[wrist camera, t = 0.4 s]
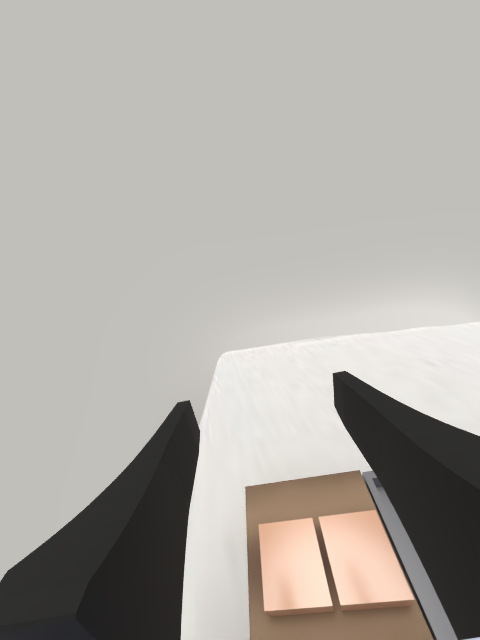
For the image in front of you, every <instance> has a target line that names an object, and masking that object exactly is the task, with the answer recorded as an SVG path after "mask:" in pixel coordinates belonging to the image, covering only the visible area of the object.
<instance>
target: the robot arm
mask: <svg viewBox="0 0 480 640" xmlns="http://www.w3.org/2000/svg"><path fill="white" fill-rule="evenodd" d="M333 386H334V405H335V408H336V410H337V412H338V414H339V416H340V418H341V420H342V422H343V424H344V426H345V428H346V429H347V431H348V433H349V434H350V436H351V437H352V439H353V440H354V442H355V444H356V445H357V447H358V448H359V450H360V451H361V453H362V454H363V456H364V457H365V459H366V461H367V462H368V464H369V465H370V467H371V468H372V470H373V471H374V473H375V475H376V476H377V478H378V480H379V481H380V483H381V485H382V487H383V489H384V490H385V492H386V494H387V496H388V498H389V500H390V502H391V504H392V505H393V507H394V509H395V511H396V513H397V515H398V517H399V519H400V521H401V523H402V525H403V527H404V529H405V531H406V532H407V534H408V536H409V538H410V540H411V542H412V544H413V546H414V548H415V550H416V553H417V555H418V557H419V559H420V561H421V563H422V565H423V567H424V569H425V571H426V573H427V575H428V577H429V579H430V581H431V583H432V585H433V588H434V590H435V592H436V594H437V596H438V598H439V600H440V602H441V605H442V607H443V609H444V611H445V613H446V615H447V617H448V619H449V622H450V624H451V626H452V628H453V630H454V633H455V635H456V637H457V639H458V640H480V436H478V435H475V434H472V433H470V432H467V431H464V430H462V429H459V428H456V427H454V426H451V425H449V424H446V423H444V422H441V421H439V420H437V419H435V418H432V417H430V416H428V415H425V414H423V413H421V412H419V411H417V410H415V409H413V408H411V407H409V406H407V405H405V404H403V403H401V402H399V401H397V400H395V399H393V398H391V397H389V396H388V395H386V394H384V393H382V392H380V391H379V390H377V389H375V388H373V387H372V386H370V385H368V384H367V383H365V382H363V381H362V380H360V379H358V378H357V377H355V376H353V375H351V374H350V373H348V372H346V371H342V372H337V373H333ZM199 442H200V430H199V427H198V424H197V421H196V418H195V415H194V412H193V409H192V406H191V403H190V400H189V401H184V402H179V403H177V404H176V406H175V407H174V408H173V410H172V411H171V412H170V414H169V415H168V416H167V418H166V419H165V421H164V422H163V424H162V425H161V426H160V427H159V429H158V430H157V431H156V433H155V434H154V435H153V437H152V438H151V439H150V440H149V442H148V443H147V444H146V445H145V447H144V448H143V449H142V450H141V451H140V453H139V454H138V455H137V456H136V458H135V459H134V460H133V461H132V462H131V463H130V464H129V465H128V466H127V468H126V469H125V470H124V471H123V472H122V473H121V474H120V475H119V476H118V477H117V478H116V479H115V480H114V481H113V482H112V483H111V484H110V485H109V486H108V487H107V488H106V489H105V490H104V491H103V492H102V493H101V494H100V495H99V496H98V497H97V498H96V499H95V500H94V501H92V502H91V503H90V505H88V506H87V507H86V508H85V509H84V510H83V511H82V512H80V513H79V514H78V515H77V516H76V517H75V518H74V519H73V520H71V521H70V522H69V523H68V524H66V525H65V526H64V527H63V528H62V529H61V530H59V531H58V532H57V533H56V534H55V535H53V536H52V537H51V538H50V539H48V540H47V541H46V542H45V543H43V544H42V545H41V546H39V547H38V548H37V549H36V550H34V551H33V552H32V553H30V554H29V555H28V556H27V557H25V558H24V559H23V560H22V561H20V562H19V563H18V564H16V565H15V566H14V567H12V568H11V569H10V570H8V571H7V573H6V574H5V576H4V577H3V579H2V580H1V582H0V640H181V615H182V597H183V578H184V564H185V550H186V538H187V526H188V516H189V508H190V502H191V496H192V490H193V484H194V479H195V473H196V467H197V461H198V455H199Z"/></svg>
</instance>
